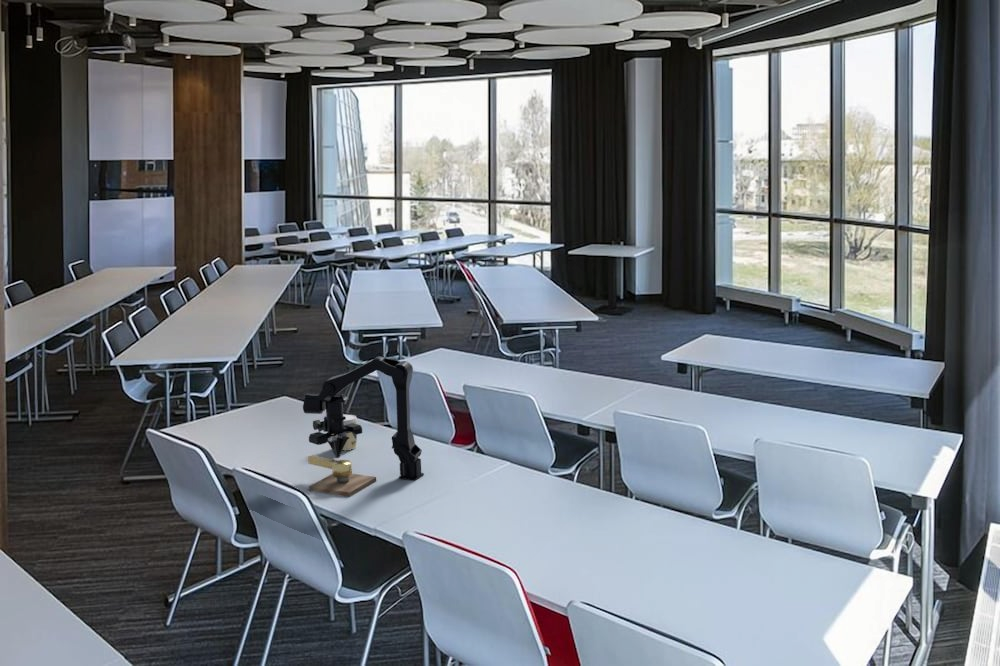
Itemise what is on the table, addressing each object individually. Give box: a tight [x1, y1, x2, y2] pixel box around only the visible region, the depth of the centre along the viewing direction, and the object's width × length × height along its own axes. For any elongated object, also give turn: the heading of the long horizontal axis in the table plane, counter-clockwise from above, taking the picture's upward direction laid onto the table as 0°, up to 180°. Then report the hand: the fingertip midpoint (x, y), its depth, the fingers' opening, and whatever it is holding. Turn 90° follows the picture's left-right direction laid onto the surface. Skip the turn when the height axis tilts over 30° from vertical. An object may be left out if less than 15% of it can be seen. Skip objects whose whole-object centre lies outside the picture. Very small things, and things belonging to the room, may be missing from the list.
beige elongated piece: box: [307, 454, 353, 478], centre depth 309 cm, size 18×6×4 cm, turn 55°
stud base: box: [308, 473, 377, 498], centre depth 306 cm, size 16×16×4 cm
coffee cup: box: [343, 414, 358, 450], centre depth 347 cm, size 9×9×12 cm
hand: (337, 457), depth 317 cm, fingers closed
